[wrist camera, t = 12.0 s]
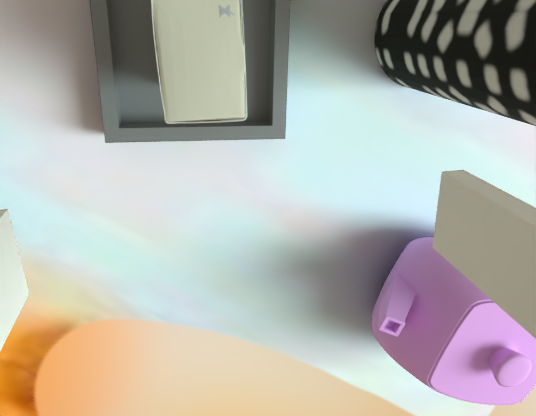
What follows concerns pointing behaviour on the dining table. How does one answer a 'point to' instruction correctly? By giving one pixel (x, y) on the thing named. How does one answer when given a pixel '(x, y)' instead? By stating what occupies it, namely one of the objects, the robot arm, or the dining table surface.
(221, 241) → the dining table surface
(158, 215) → the dining table surface
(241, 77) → the skincare box
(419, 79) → the white-spotted black cylinder
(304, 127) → the dining table surface
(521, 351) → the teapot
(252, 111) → the tray
